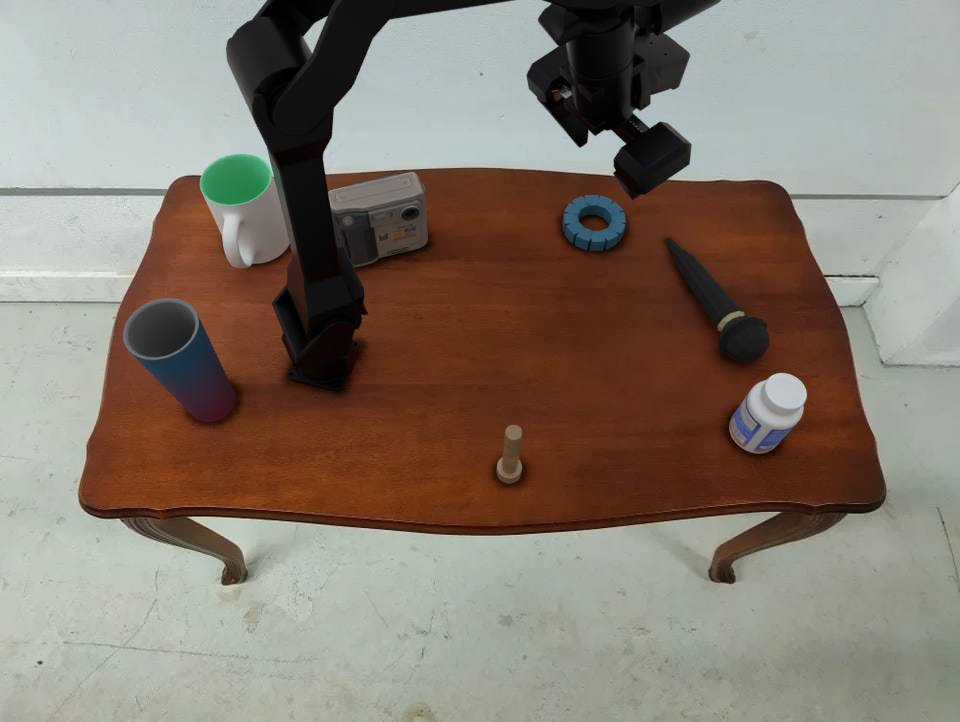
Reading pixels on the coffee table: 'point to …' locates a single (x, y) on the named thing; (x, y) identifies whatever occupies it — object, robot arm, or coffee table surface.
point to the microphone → (723, 311)
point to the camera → (379, 217)
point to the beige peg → (510, 456)
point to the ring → (589, 237)
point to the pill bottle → (768, 413)
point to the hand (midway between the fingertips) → (608, 170)
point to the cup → (180, 357)
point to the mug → (245, 209)
